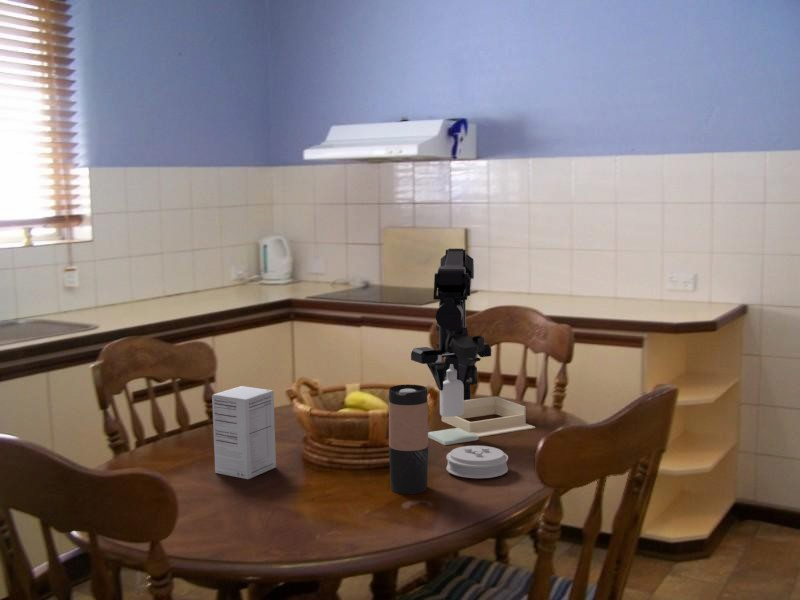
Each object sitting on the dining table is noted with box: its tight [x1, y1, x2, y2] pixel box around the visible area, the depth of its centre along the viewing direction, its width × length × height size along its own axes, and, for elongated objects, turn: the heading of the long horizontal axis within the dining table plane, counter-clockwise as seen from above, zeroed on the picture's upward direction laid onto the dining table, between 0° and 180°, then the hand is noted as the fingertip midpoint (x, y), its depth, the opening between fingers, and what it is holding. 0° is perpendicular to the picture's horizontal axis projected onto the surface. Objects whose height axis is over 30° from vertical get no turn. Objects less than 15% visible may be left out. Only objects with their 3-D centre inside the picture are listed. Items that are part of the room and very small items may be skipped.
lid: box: [446, 445, 509, 479], centre depth 196 cm, size 13×13×5 cm
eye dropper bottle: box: [439, 364, 464, 417], centre depth 221 cm, size 4×6×12 cm
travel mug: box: [388, 384, 429, 495], centre depth 185 cm, size 8×8×20 cm
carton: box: [441, 395, 536, 438], centre depth 234 cm, size 17×16×4 cm
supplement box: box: [211, 385, 277, 480], centre depth 198 cm, size 10×9×17 cm
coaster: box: [428, 427, 479, 446], centre depth 223 cm, size 9×9×1 cm
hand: (451, 388), depth 221 cm, fingers closed on eye dropper bottle, 5 cm apart
